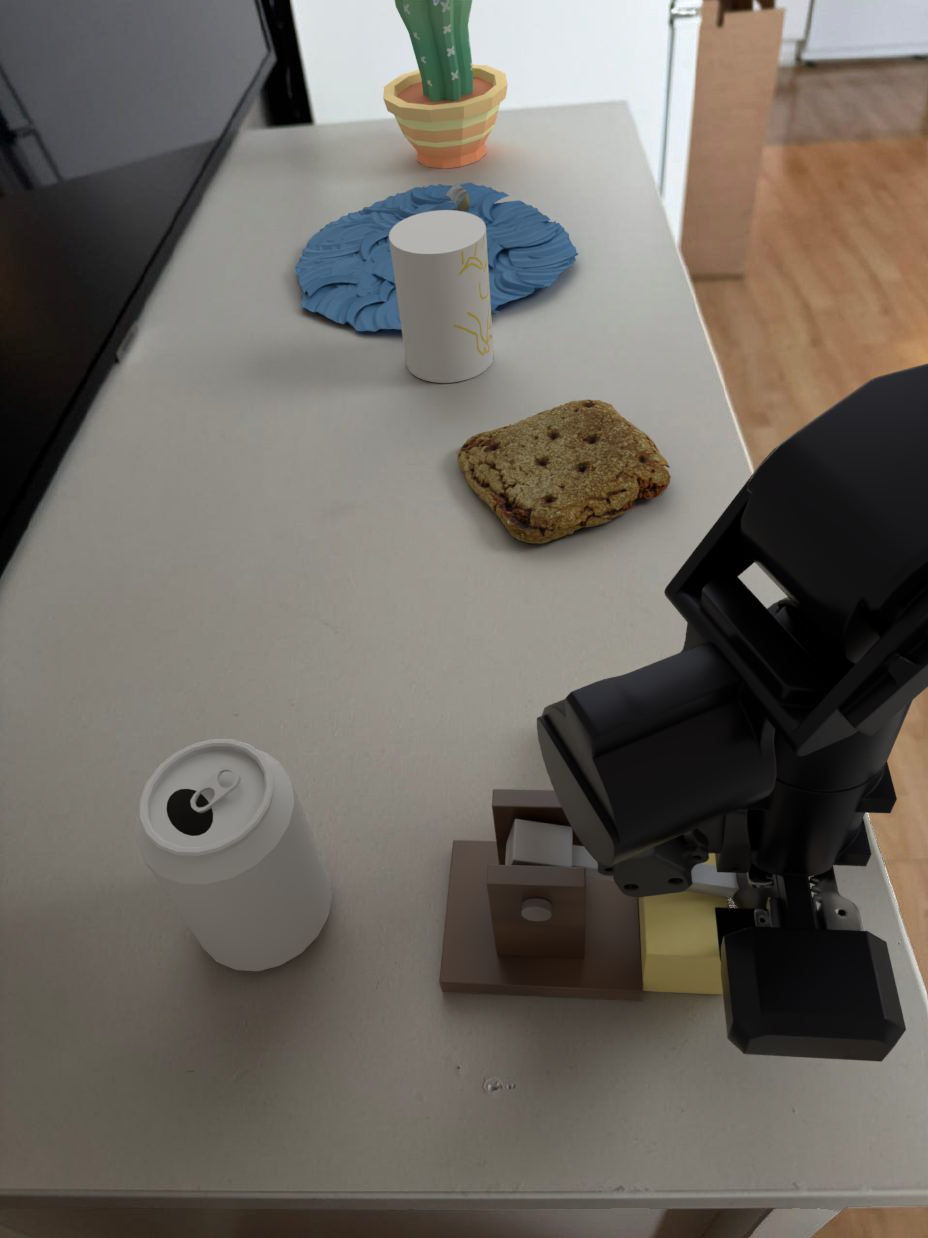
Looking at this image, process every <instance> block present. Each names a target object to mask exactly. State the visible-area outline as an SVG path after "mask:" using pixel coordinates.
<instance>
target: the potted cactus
mask: <svg viewBox="0 0 928 1238" xmlns="http://www.w3.org/2000/svg"><path fill="white" fill-rule="evenodd" d="M394 4H395V8H396V11H397V13H398V14H399V16H400V18H401V20H402V22H403V24H404V26H405V28H406V31H407V33H408V36H409V39H410V42H411V47H412V50H413V54H414V57H415V60H416V64H417V68H418V69H416V70H413V71H410V72H406V73H403V74H400V75H398V76H397V77H395V78H394V79H392V80H391V81H390V82H389V83H387V84H385V85H384V86H383V96H382V99H383V102H384V105H385V107H386V110H387V112H389V113H391V114H392V115H393V116H394V118H395V121H396V122H397V124H398V127H399V128H400V131H401V133H402V136H404V138H405V139H406V140H407V141H408V143H409V144H411V146H412V147H413V148H414V149H415V150H416V162H418V163H420V164H421V165H423V166H425V167H426V168H432V169H433V168H434V169H442V170H444V169H452V168H462V167H465V166H467V165H471V164H473V163H474V164H475V163H477V162H479V161H480V160H481V159H482V158H483V157H484V156H485V155H486V154H487V149H486V145H485V143H486V142H487V140H488V138H489V136H490V134H491V133H492V131H493V129H494V128H495V125H496V121H497V117H498V113H499V109H500V105H501V102H503V101H504V100H505V99H506V97H507V92H508V86H509V85H508V80H507V75H506V73H505V72H503V71H501V70H499V69H497V68H494V67H492V66H490V65H485V64H474V63H473V59H472V50H471V41H470V31H469V22H470V17H471V11H472V6H473V5H472V4H473V0H394Z"/></svg>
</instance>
